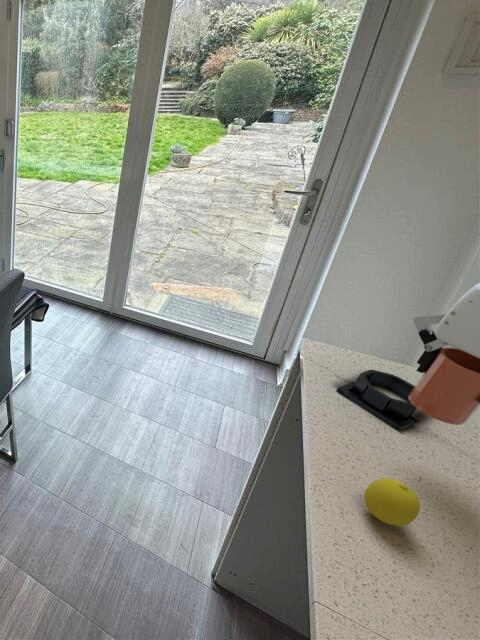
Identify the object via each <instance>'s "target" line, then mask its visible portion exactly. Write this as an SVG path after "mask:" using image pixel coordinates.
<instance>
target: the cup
mask: <svg viewBox="0 0 480 640" xmlns="http://www.w3.org/2000/svg"><path fill="white" fill-rule="evenodd" d="M442 348H443V349H441V350H440V351H439V353H438V354H437V355H436V357H435V358H434V360H433V361H432V362H431V364H430V365H429V367H428V368H427V369H426V371H425V372H424V373H422V375H421V377H420V378H419V379H418V381H416V383H415V385H414V388H413V389H412V390H411V392H410V394H409V396H408V398H409V401H410V402H411V403H412V404H413V405H414V406H415V407H416V408H417V409H418V410H420V411H421V412H420V413H423V414H424V415H426V416H428V417H430V418H432V419H435V420H437V421H439V422H442V423H445V424H449V425H456V426H461V425H464V424H466V423H467V421H469V420H470V419H471V417H472V416H473V415H474V414H475V413H476V412H477V410H479V408H480V403H479V401H480V359H479V358H477V357H475V356H473V355H470V354H468V353H466V352H464V351H462V350H460V349H457V348H455V347H449V346H444V347H442Z"/></svg>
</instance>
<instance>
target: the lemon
mask: <svg viewBox="0 0 480 640" xmlns="http://www.w3.org/2000/svg"><path fill="white" fill-rule="evenodd" d="M363 496H364V497H363V499H364V500H363V501H364V503H365V506H366V508H367V510H368V511H369V512H370V513H371V514H372V515H373V517H375V518H376V519H378V520H379V521H381V522H382V523H385V524H386V525H387V524H388V525H391V526H395V527H396V526H397V527H401V526H406V525H409V524H411V523H412V522H414V521H415V519H417V517H418V515H419V513H420V508H421V502H420V499H419V496H418V495H417V493H416V492H415V491H414V490H413V489H412V488H411V487H410V486H409V485H408V484H405V483H404V482H403V481H401V480H398V479H394V478H389V477H384V478H379V479H377V480H374V481H373V482H370V484H369V485H368V486H367V487H366V489H365V491H364V495H363Z"/></svg>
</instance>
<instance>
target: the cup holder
mask: <svg viewBox="0 0 480 640" xmlns="http://www.w3.org/2000/svg"><path fill="white" fill-rule="evenodd" d="M374 386H375V387H379V388H383V389H387V390H389V391H390V392H392V393H394V394H395V395H397V396H399V397H400V398H402V399H404V400H405V401H404V400H401V399H397V398H393V397H391V396H389V395H388V394H385V393H384V392H382V391H380V390H379V389H377V388H375V387H374ZM414 386H415V385H414V384H412V383H410V382H409V381H407V380H405V379H404V378H401V377H399V376H397V375H395V374H392V373H388V372H384V371H380V370H376V369H368V370H366V371H363V372H360V374H359V375H358V377H357V378H356V380H355V382H354V381H351V382H349V383H346V384H344V385H340V386H339V387H337V389H335V391H336V392H337V393H339V394H341V395H342V396H343V397H345V398H347V399H348V400H350V401H351V402H352V403H354V404H355V405H357V406H359V407H361V408H362V409H363V410H365V411H367V412H368V413H370V414H372V415H373V416H375V418H377V419H379V420H380V421H382V422H384V423H386V424H387V425H389V426H390V427H392V428H393V429H395V430H396V431H398V432H402V431H404V430H405V429H407V428H409V427H411V426H413V425H415V424H417V423H419V422H420V421H419V420H418V419H416V418H415V416H418V415H420V413H422V412H421V411H420V410H418V409H417V408H416V407H415V406H414V405H413V404H412V403H411V402H410V401H409V398H408V396H409V394H410V392H411V390H412V389H413V388H414Z"/></svg>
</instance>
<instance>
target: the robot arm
mask: <svg viewBox="0 0 480 640" xmlns="http://www.w3.org/2000/svg"><path fill="white" fill-rule="evenodd" d="M413 323H414V325H415V327H416V330H417V331H418V336H419V338H420V340H421V342H422V343H423V353H421V356H419V358H418V360H417V361H416V364H418V365H419V366H418V367H417V369H416V372H418V373H420V374H424V372H425V371H426V369H427V368H428V367H429V365H430V364H431V362H432V361H433V360H434V358H435V357H436V355H437V354H438V353H439V351H440V350H441V349H443V348H445V347H447V346H451V347H452V348H457V349H460V350H462V351H464V352H466V353H468V354H470V355H473V356H475V357H477V358H479V359H480V282H477V284H474V286H472V287H471V288H470V289H468V290H467V291H466V293H464V294H463V295H462V296H461V297H460V298H459V299H458V300H457V301H456V303H454V305H453V306H452V307H451V308H450V309H448V312H446V313H443V314H432V315H422V316H421V315H420V316H417V317H415V318H413ZM436 324H437V325H436ZM431 325H436V326H435V328H434V330H433V329H432V327H431ZM479 403H480V401H479Z"/></svg>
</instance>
